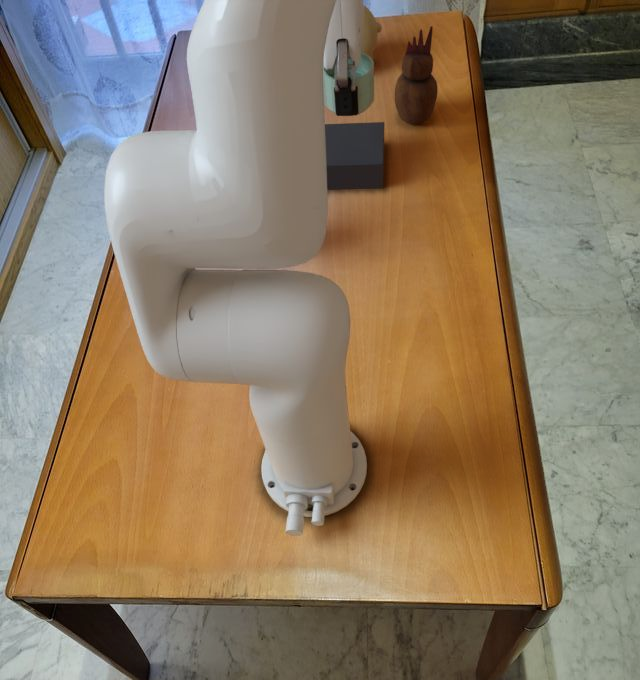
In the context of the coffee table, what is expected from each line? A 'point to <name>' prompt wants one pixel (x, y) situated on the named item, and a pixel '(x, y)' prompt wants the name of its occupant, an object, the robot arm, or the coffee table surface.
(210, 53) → the robot arm
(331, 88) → the bowl
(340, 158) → the block
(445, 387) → the coffee table surface
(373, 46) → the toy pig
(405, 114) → the wooden figurine
